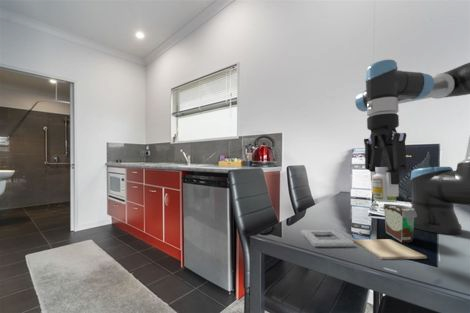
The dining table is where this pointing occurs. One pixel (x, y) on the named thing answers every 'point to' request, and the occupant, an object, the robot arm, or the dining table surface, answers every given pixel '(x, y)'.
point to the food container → (399, 221)
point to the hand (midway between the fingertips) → (384, 194)
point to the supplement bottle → (381, 186)
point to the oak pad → (388, 249)
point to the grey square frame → (338, 242)
